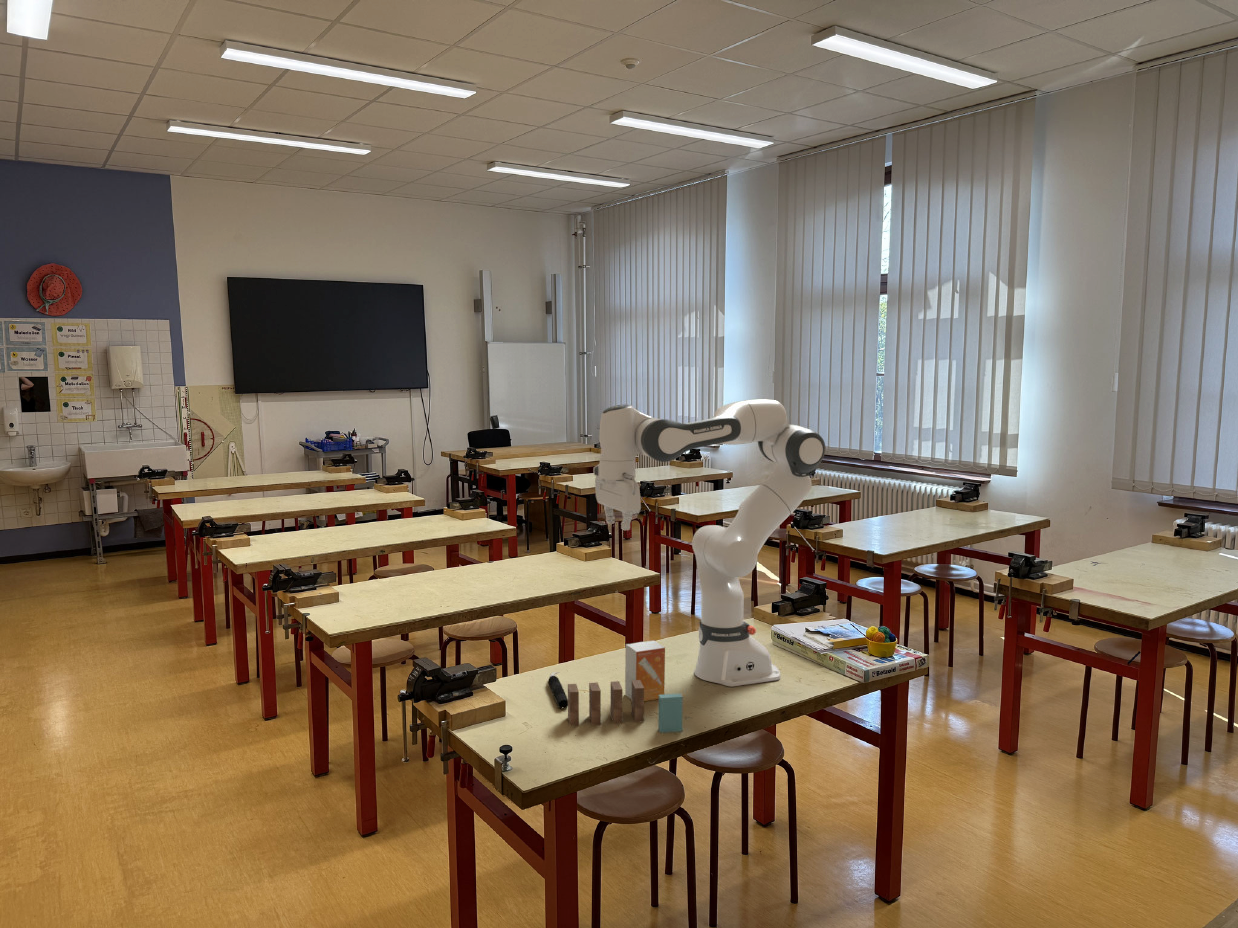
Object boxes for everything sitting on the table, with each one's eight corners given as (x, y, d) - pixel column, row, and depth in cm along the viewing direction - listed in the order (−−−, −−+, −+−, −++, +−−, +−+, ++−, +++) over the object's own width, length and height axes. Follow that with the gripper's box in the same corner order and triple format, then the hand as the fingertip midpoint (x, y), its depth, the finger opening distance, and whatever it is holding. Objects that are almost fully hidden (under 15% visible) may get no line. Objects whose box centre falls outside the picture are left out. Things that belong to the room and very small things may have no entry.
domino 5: (658, 728, 188) (658, 694, 187) (680, 727, 188) (680, 693, 187) (660, 732, 186) (660, 698, 185) (682, 731, 186) (682, 696, 185)
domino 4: (639, 712, 196) (640, 679, 196) (643, 721, 192) (644, 687, 191) (631, 713, 196) (631, 680, 195) (635, 721, 191) (635, 688, 190)
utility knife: (544, 678, 219) (544, 667, 218) (559, 677, 220) (559, 666, 219) (557, 711, 198) (557, 698, 198) (574, 709, 199) (574, 697, 199)
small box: (635, 703, 202) (635, 651, 200) (624, 694, 207) (624, 643, 206) (665, 698, 205) (665, 646, 204) (653, 689, 211) (653, 639, 209)
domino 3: (618, 713, 196) (619, 681, 195) (622, 722, 191) (622, 689, 190) (610, 714, 195) (610, 681, 194) (613, 723, 190) (613, 689, 190)
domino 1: (576, 716, 194) (576, 683, 193) (578, 725, 189) (578, 691, 188) (567, 717, 194) (567, 684, 193) (570, 726, 189) (569, 692, 188)
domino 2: (597, 715, 195) (597, 682, 194) (600, 724, 190) (600, 690, 189) (589, 715, 195) (589, 682, 194) (592, 724, 190) (591, 690, 189)
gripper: (647, 475, 197) (647, 532, 198) (613, 466, 215) (613, 519, 217) (622, 476, 194) (622, 534, 196) (590, 467, 213) (591, 520, 214)
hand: (617, 526), depth 206 cm, fingers open, 8 cm apart
